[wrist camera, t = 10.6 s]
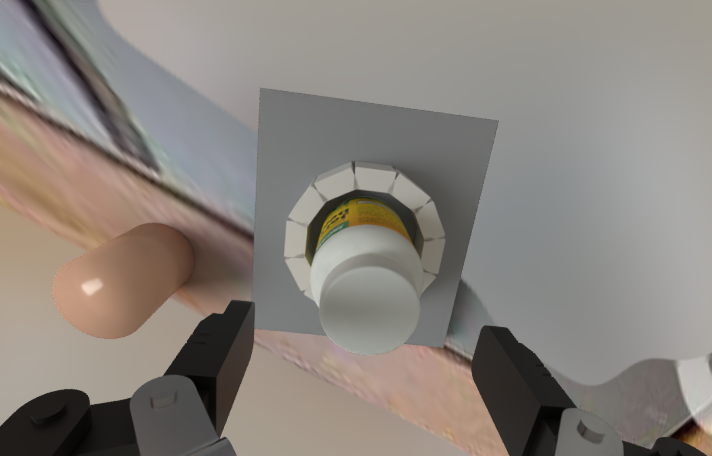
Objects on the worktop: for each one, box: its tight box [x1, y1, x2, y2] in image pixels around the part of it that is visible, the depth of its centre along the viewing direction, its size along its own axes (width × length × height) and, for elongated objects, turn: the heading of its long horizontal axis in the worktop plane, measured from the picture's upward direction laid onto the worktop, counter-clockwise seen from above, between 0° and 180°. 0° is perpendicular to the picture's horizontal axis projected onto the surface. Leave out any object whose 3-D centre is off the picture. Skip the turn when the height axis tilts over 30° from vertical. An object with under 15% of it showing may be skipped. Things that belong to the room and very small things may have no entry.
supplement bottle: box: [310, 196, 424, 355], centre depth 18 cm, size 5×5×10 cm
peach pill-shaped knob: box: [52, 223, 195, 339], centre depth 22 cm, size 5×5×6 cm
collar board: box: [251, 88, 499, 348], centre depth 22 cm, size 14×16×4 cm
